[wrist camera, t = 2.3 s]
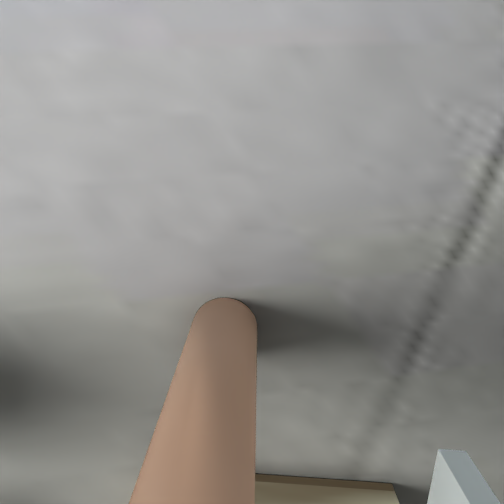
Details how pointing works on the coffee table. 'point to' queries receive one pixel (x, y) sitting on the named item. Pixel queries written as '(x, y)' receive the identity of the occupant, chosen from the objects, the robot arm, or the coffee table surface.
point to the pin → (207, 415)
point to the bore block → (320, 491)
